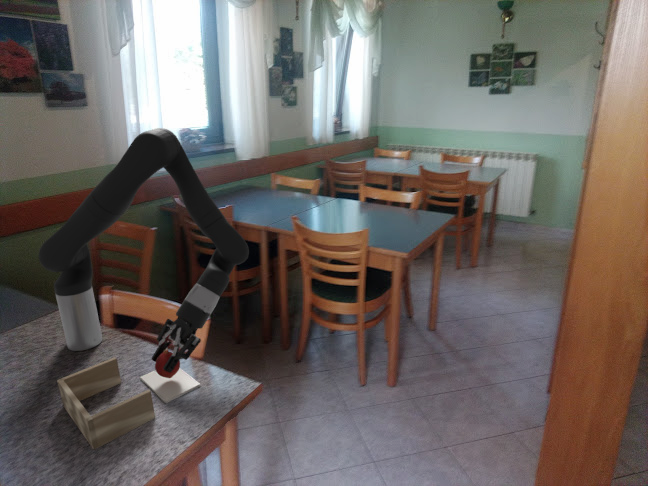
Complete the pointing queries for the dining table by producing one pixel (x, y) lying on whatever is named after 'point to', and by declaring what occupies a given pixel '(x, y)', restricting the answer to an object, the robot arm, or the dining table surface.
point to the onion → (161, 363)
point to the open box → (112, 419)
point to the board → (170, 384)
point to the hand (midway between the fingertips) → (160, 365)
